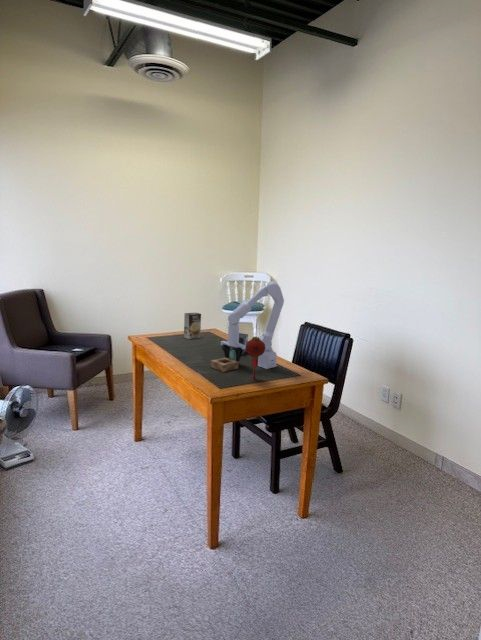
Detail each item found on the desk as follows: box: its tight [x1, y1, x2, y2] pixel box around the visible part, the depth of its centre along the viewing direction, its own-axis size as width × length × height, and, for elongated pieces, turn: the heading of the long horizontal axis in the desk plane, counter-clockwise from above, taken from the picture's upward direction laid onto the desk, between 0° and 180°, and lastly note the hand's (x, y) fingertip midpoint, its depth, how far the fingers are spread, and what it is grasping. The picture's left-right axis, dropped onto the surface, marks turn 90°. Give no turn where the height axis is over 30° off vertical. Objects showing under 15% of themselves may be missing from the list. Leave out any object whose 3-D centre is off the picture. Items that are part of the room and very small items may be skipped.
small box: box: [232, 332, 249, 356], centre depth 245 cm, size 11×6×10 cm, turn 162°
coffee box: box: [183, 312, 202, 340], centre depth 276 cm, size 9×6×16 cm
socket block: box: [210, 356, 239, 373], centre depth 216 cm, size 10×10×4 cm
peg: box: [229, 349, 236, 361], centre depth 223 cm, size 3×3×7 cm
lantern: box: [246, 320, 265, 380], centre depth 199 cm, size 10×10×30 cm
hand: (232, 360), depth 223 cm, fingers open, 6 cm apart
